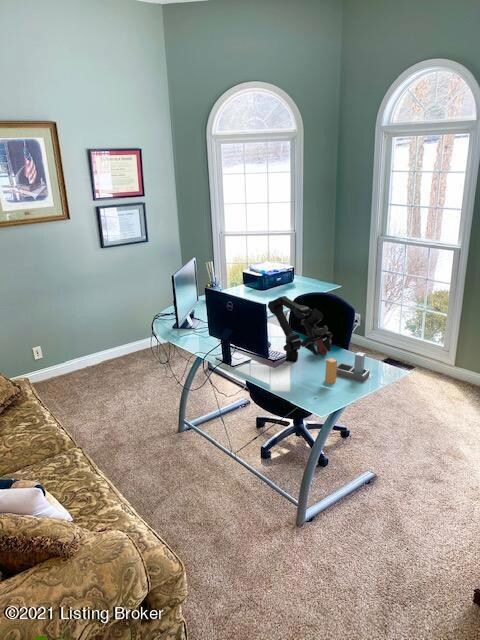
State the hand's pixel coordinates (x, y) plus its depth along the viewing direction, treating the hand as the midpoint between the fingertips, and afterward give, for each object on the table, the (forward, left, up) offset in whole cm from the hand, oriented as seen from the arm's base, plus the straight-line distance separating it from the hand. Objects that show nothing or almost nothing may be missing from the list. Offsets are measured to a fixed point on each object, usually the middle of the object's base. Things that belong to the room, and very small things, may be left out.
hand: (323, 353), depth 254 cm
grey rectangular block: (+19, +3, -13) cm, 23 cm away
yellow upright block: (+5, -7, -14) cm, 16 cm away
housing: (+15, +4, -13) cm, 21 cm away
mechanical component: (-2, +31, -14) cm, 34 cm away
